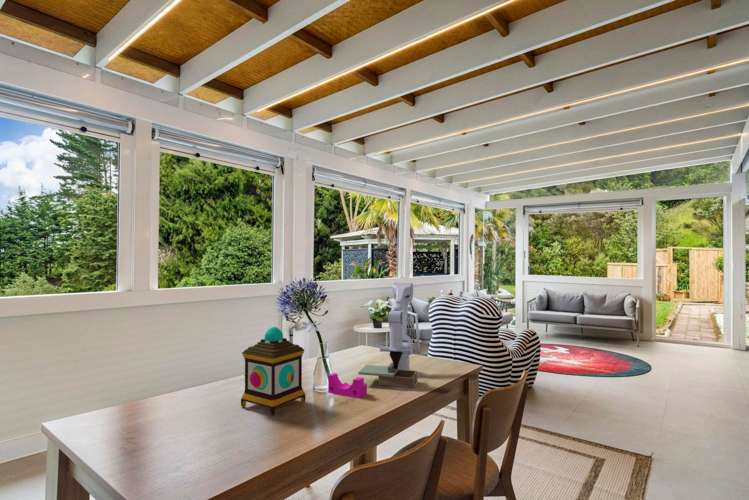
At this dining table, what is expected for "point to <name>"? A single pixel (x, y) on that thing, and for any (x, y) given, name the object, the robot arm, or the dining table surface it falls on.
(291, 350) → the decorative lantern
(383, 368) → the lid
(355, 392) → the toy block
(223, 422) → the dining table surface
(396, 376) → the brown wooden tray
